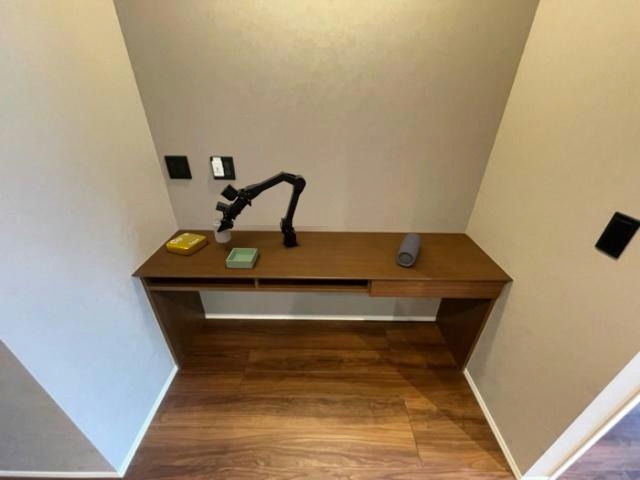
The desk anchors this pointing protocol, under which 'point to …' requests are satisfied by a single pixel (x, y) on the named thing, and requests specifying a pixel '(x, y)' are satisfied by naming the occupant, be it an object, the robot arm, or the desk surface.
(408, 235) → the bluetooth speaker
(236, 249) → the tray
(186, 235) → the element tile
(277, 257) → the desk surface
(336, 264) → the desk surface
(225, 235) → the can
